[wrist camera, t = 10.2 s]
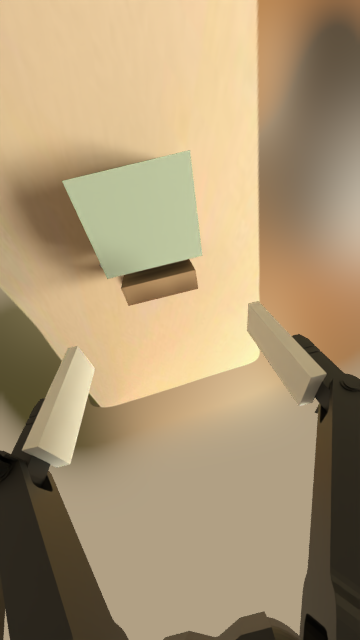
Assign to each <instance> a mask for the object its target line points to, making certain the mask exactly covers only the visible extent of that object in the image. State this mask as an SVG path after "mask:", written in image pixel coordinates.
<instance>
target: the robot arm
mask: <svg viewBox="0 0 360 640" xmlns="http://www.w3.org/2000/svg"><path fill="white" fill-rule="evenodd" d="M247 331H248V333H249V334H250V336H251V337H252V338H253V340H254V341H255V343H256V344H257V346H258V347H259V349H260V350H261V352H262V353H263V354H264V356H265V357H266V359H267V360H268V362H269V363H270V365H271V366H272V367H273V369H274V370H275V372H276V373H277V375H278V376H279V378H280V379H281V381H282V382H283V384H284V385H285V386H286V388H287V389H288V391H289V392H290V394H291V395H292V396H293V398H294V400H295V401H296V402H297V404H298V405H299V406H302V405H306V404H309V403H312V402H313V400H314V398H316V399H317V400H318V402H319V405H318V407H317V409H316V411H315V413H318V423H317V438H316V453H315V469H314V484H313V499H312V514H311V529H310V545H309V560H308V570H307V575H306V578H305V582H304V587H303V596H302V610H301V623H300V624H301V625H300V636H299V635H298V634H297V633H295V632H294V631H293V630H292V629H291V628H290V627H288V626H287V625H285V624H284V623H282V622H280V621H278V620H276V619H273V618H269V617H266V614H265V612H261V613H256V614H253V615H249V616H245V617H241V618H239V619H238V620H237V621H236V622H235V623H233V625H231V626H230V627H229V628H228V629H227V630H225V632H223V633H222V634H221V635H220V636H218V637H211V636H207V635H203V634H199V633H195V632H191V631H188V632H184V633H180V634H176V635H172V636H169V637H166V638H164V640H360V379H359V378H357V377H355V376H353V375H350V374H345V373H343V372H342V371H341V370H340V369H339V368H338V367H337V366H336V365H335V364H334V363H333V362H332V361H330V359H328V358H327V357H326V356H325V355H324V354H323V353H322V352H320V350H319V349H318V348H317V347H316V346H314V344H313V343H312V342H311V341H310V340H309V339H307V338H305V337H304V336H302V335H300V334H298V335H294V336H291V335H290V334H289V333H288V332H287V331H286V330H285V329H284V328H283V327H282V326H281V325H280V324H279V323H278V322H277V320H276V319H275V318H274V317H273V316H272V315H271V314H270V313H269V312H268V311H267V310H266V309H265V308H264V307H263V306H262V305H261V304H260V303H259V301H257V302H253V303H249V304H248V322H247ZM94 370H95V368H94V367H93V365H92V364H91V363H90V361H89V360H88V359H87V357H86V356H85V355H84V353H83V352H82V351H81V349H80V348H79V347H78V346H75V347H71V348H68V349H67V351H66V353H65V356H64V358H63V360H62V362H61V365H60V367H59V369H58V371H57V373H56V376H55V378H54V380H53V382H52V385H51V387H50V389H49V391H48V393H47V396H46V398H44V399H40V401H39V402H38V403H37V404H36V406H35V407H34V408H33V410H32V412H31V414H30V417H29V419H28V421H27V423H26V426H25V427H24V429H23V431H22V433H21V435H20V437H19V439H18V441H17V443H16V445H15V447H14V450H13V452H12V454H9V453H7V452H5V451H0V640H3V635H4V618H5V609H6V616H7V622H8V629H9V636H10V640H128V638H127V636H126V634H125V632H124V631H123V630H122V628H120V627H119V626H118V625H117V624H116V623H115V622H114V620H113V619H112V617H111V615H110V612H109V610H108V608H107V605H106V603H105V600H104V598H103V596H102V593H101V591H100V589H99V587H98V584H97V582H96V579H95V577H94V574H93V572H92V570H91V567H90V565H89V562H88V560H87V558H86V555H85V553H84V551H83V548H82V546H81V544H80V541H79V539H78V536H77V534H76V532H75V529H74V527H73V525H72V522H71V520H70V517H69V515H68V512H67V510H66V508H65V505H64V503H63V501H62V498H61V496H60V493H59V491H58V489H57V486H56V484H55V482H54V479H53V477H52V474H51V473H50V472H49V471H48V470H49V466H50V465H53V466H55V467H60V466H65V465H69V464H70V463H71V459H72V455H73V451H74V448H75V444H76V440H77V436H78V432H79V428H80V424H81V420H82V416H83V413H84V409H85V405H86V401H87V397H88V394H89V390H90V386H91V382H92V378H93V374H94Z"/></svg>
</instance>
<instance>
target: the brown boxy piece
mask: <svg viewBox="0 0 360 640" xmlns="http://www.w3.org/2000/svg"><path fill="white" fill-rule="evenodd" d="M121 289H122V291H123V294H124V296H125V298H126V301H127V303H128V305H129V306H130V305H134V304H138V303H142V302H146V301H150V300H154V299H158V298H162V297H166V296H170V295H174V294H178V293H182V292H186V291H190V290H194V289H198V285H197V278H196V271H195V269H194V267H193V265H192V263H191V262H190V260H189V259H187V260H182V261H178V262H174V263H170V264H166V265H162V266H158V267H154V268H150V269H146V270H142V271H138V272H134V273H130V274H125V275H124V278H123V282H122V287H121Z"/></svg>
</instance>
